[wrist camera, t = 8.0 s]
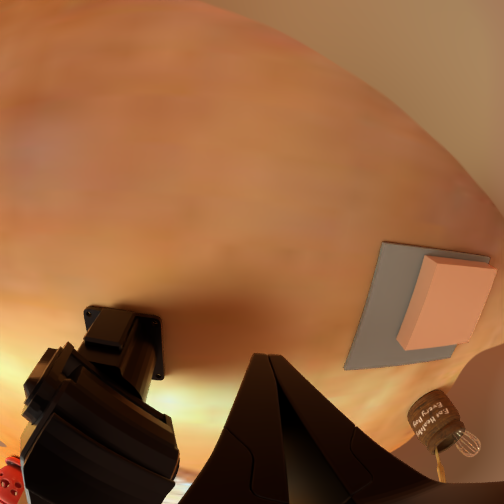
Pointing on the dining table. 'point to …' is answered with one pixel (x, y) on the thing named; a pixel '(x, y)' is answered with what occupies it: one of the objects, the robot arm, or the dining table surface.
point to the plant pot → (11, 481)
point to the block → (445, 302)
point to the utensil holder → (436, 425)
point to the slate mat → (395, 309)
